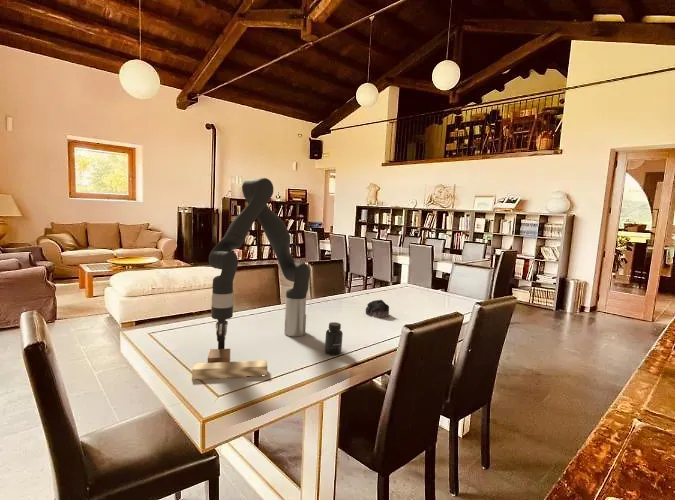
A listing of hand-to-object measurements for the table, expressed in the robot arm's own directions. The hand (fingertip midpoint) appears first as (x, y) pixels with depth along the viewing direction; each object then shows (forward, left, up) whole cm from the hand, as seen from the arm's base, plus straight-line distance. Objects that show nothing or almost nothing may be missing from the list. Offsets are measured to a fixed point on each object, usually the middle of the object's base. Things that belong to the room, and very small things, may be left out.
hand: (221, 350), depth 135 cm
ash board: (-4, +13, -4) cm, 14 cm away
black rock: (-81, -56, -4) cm, 98 cm away
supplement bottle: (-43, -3, -4) cm, 44 cm away
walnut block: (0, +6, -4) cm, 7 cm away
